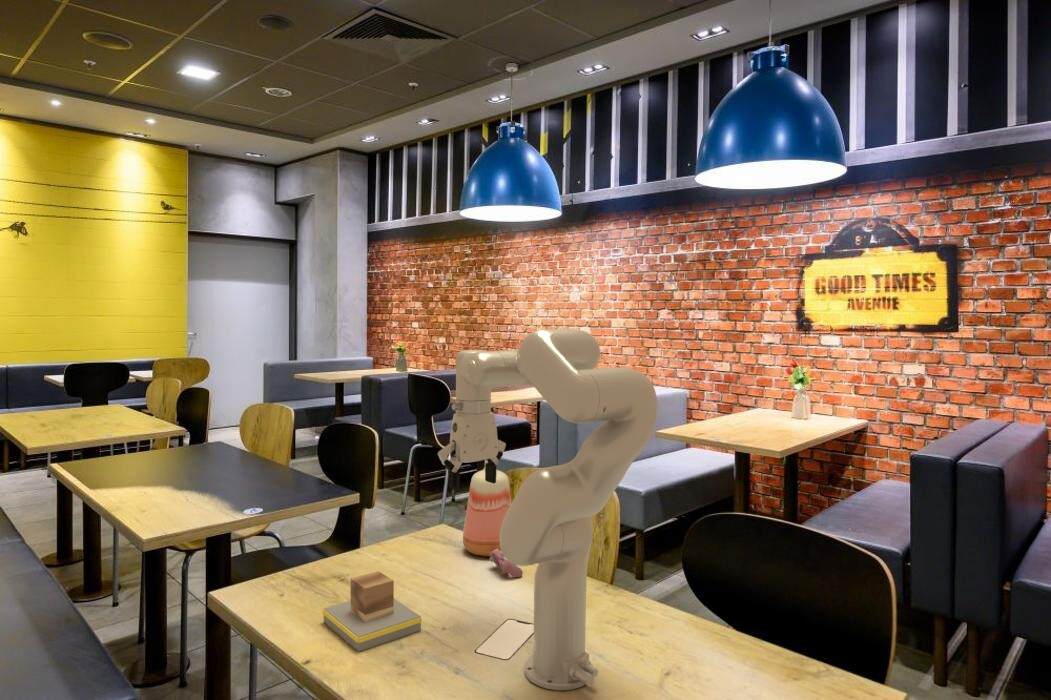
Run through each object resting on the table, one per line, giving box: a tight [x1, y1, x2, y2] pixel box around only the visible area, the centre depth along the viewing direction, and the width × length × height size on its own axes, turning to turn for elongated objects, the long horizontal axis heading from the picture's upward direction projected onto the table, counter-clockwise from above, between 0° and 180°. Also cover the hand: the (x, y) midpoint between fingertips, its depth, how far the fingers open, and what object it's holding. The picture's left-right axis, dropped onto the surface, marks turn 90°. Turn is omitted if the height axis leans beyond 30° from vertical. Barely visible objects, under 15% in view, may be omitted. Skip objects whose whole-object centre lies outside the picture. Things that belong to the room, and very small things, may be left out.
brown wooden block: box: [350, 571, 395, 622], centre depth 142 cm, size 6×6×7 cm
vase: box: [462, 460, 512, 558], centre depth 186 cm, size 14×14×30 cm
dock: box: [322, 598, 422, 652], centre depth 142 cm, size 16×14×3 cm
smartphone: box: [473, 618, 534, 661], centre depth 138 cm, size 8×1×16 cm
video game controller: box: [489, 549, 524, 579], centre depth 172 cm, size 10×5×7 cm, turn 26°
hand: (472, 485), depth 147 cm, fingers open, 9 cm apart
